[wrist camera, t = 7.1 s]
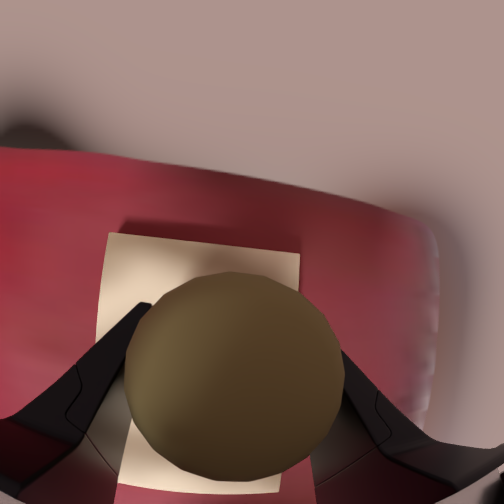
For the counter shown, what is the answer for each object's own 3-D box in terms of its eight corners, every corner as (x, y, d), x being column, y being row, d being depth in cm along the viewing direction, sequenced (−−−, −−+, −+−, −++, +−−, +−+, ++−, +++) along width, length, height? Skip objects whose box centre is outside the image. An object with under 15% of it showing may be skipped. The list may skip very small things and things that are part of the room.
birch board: (273, 482, 18) (278, 492, 16) (105, 470, 15) (101, 478, 14) (293, 258, 22) (299, 253, 20) (114, 237, 19) (109, 232, 18)
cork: (244, 275, 17) (328, 200, 6) (282, 374, 16) (409, 440, 5) (141, 311, 15) (44, 295, 5) (182, 412, 14) (170, 544, 4)
